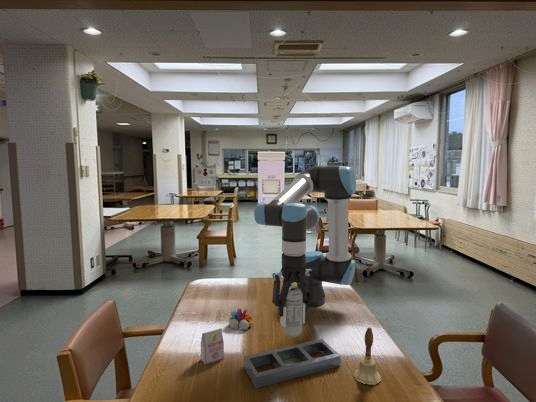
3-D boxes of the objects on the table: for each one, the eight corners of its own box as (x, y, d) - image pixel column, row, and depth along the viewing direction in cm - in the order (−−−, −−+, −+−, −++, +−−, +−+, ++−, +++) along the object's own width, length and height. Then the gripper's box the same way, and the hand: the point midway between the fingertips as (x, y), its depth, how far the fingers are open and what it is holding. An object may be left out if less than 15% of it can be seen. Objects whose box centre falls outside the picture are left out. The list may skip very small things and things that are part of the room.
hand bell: (349, 369, 110) (351, 322, 108) (375, 368, 111) (377, 321, 109) (358, 386, 102) (360, 335, 100) (385, 385, 103) (388, 334, 101)
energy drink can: (303, 330, 112) (304, 286, 111) (299, 339, 107) (300, 293, 105) (286, 327, 114) (286, 284, 113) (280, 336, 109) (281, 290, 107)
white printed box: (200, 359, 116) (200, 331, 115) (219, 353, 119) (219, 326, 118) (204, 364, 113) (204, 335, 112) (223, 358, 116) (223, 330, 115)
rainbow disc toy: (249, 332, 134) (249, 314, 134) (226, 329, 136) (226, 312, 135) (254, 322, 143) (255, 305, 142) (232, 320, 145) (232, 303, 144)
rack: (321, 348, 123) (321, 338, 123) (340, 365, 112) (340, 355, 112) (243, 366, 112) (243, 356, 111) (256, 388, 101) (256, 377, 101)
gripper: (313, 247, 115) (312, 313, 117) (261, 253, 107) (260, 323, 110) (326, 253, 108) (324, 323, 111) (270, 259, 101) (269, 334, 103)
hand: (292, 323), depth 110 cm, fingers closed on energy drink can, 6 cm apart
